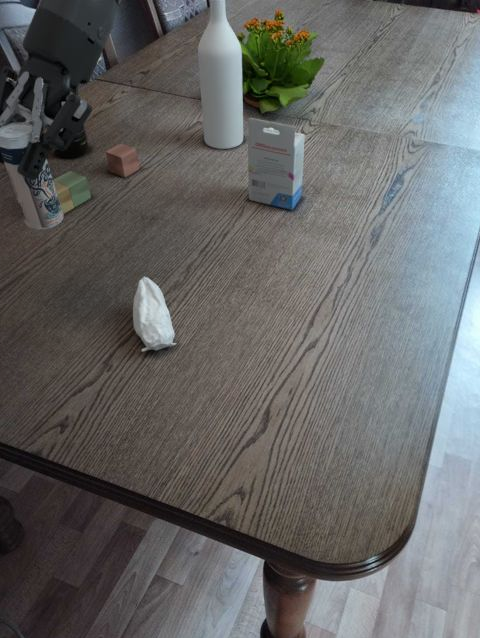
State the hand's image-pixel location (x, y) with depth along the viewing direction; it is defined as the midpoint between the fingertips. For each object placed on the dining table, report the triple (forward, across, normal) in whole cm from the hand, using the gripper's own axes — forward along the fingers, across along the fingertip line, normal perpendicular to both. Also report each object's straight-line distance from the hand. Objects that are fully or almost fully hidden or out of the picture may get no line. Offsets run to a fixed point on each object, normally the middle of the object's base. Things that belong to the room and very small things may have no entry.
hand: (12, 168), depth 63 cm
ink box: (-15, +7, +44) cm, 47 cm away
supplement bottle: (-6, -35, +36) cm, 51 cm away
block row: (-2, -21, +31) cm, 37 cm away
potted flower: (-37, -22, +67) cm, 80 cm away
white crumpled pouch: (+11, +15, +18) cm, 26 cm away
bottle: (-22, -15, +52) cm, 59 cm away
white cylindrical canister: (+5, 0, +7) cm, 9 cm away
